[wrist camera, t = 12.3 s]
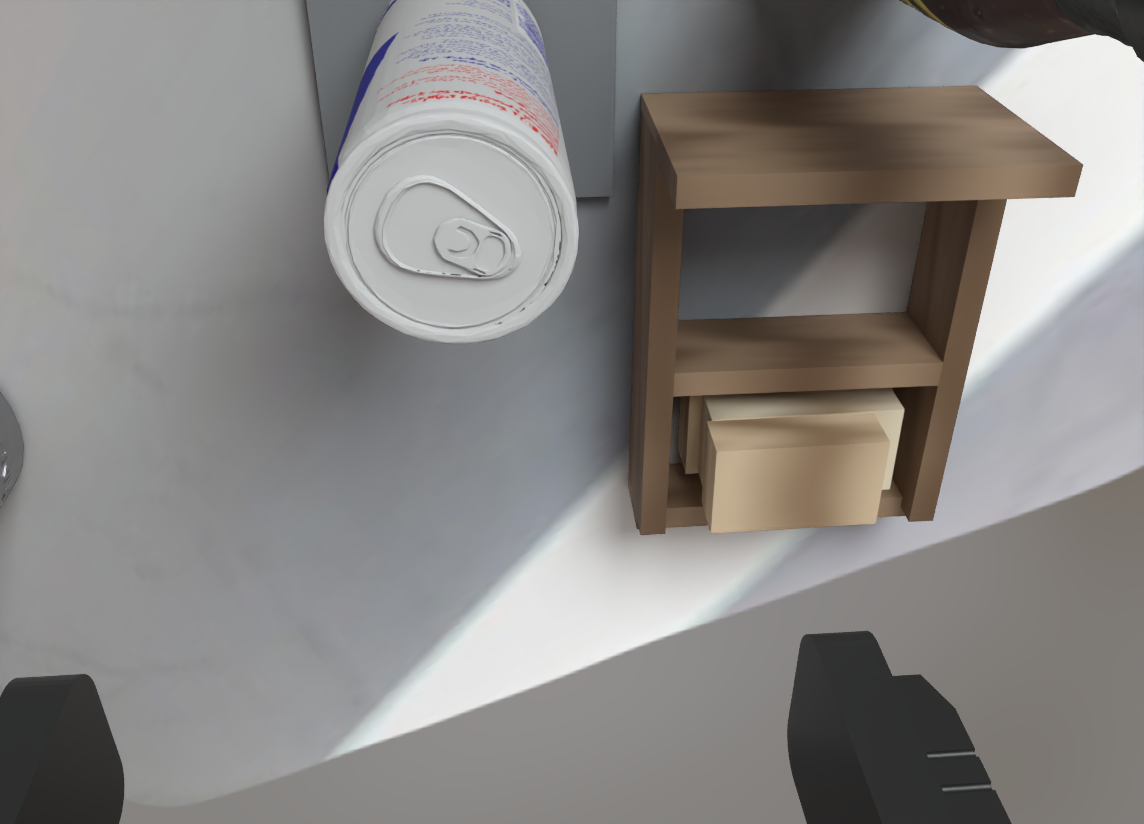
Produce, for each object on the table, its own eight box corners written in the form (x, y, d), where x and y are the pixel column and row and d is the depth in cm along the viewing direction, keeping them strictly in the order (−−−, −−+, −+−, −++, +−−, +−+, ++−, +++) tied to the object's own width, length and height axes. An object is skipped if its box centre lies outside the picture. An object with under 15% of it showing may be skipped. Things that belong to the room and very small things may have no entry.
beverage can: (352, -12, 34) (280, 144, 22) (523, -52, 34) (551, 82, 22) (402, 154, 37) (365, 375, 25) (559, 119, 37) (603, 323, 25)
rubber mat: (334, 198, 39) (332, 204, 38) (295, -109, 33) (292, -106, 33) (611, 190, 39) (612, 196, 39) (616, -112, 34) (618, -110, 33)
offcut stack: (677, 446, 46) (702, 535, 41) (681, 365, 44) (708, 450, 39) (861, 436, 46) (908, 523, 41) (874, 355, 44) (925, 438, 39)
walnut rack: (628, 484, 47) (653, 614, 40) (641, 93, 38) (677, 176, 31) (898, 472, 47) (967, 596, 41) (976, 85, 38) (1083, 164, 32)
